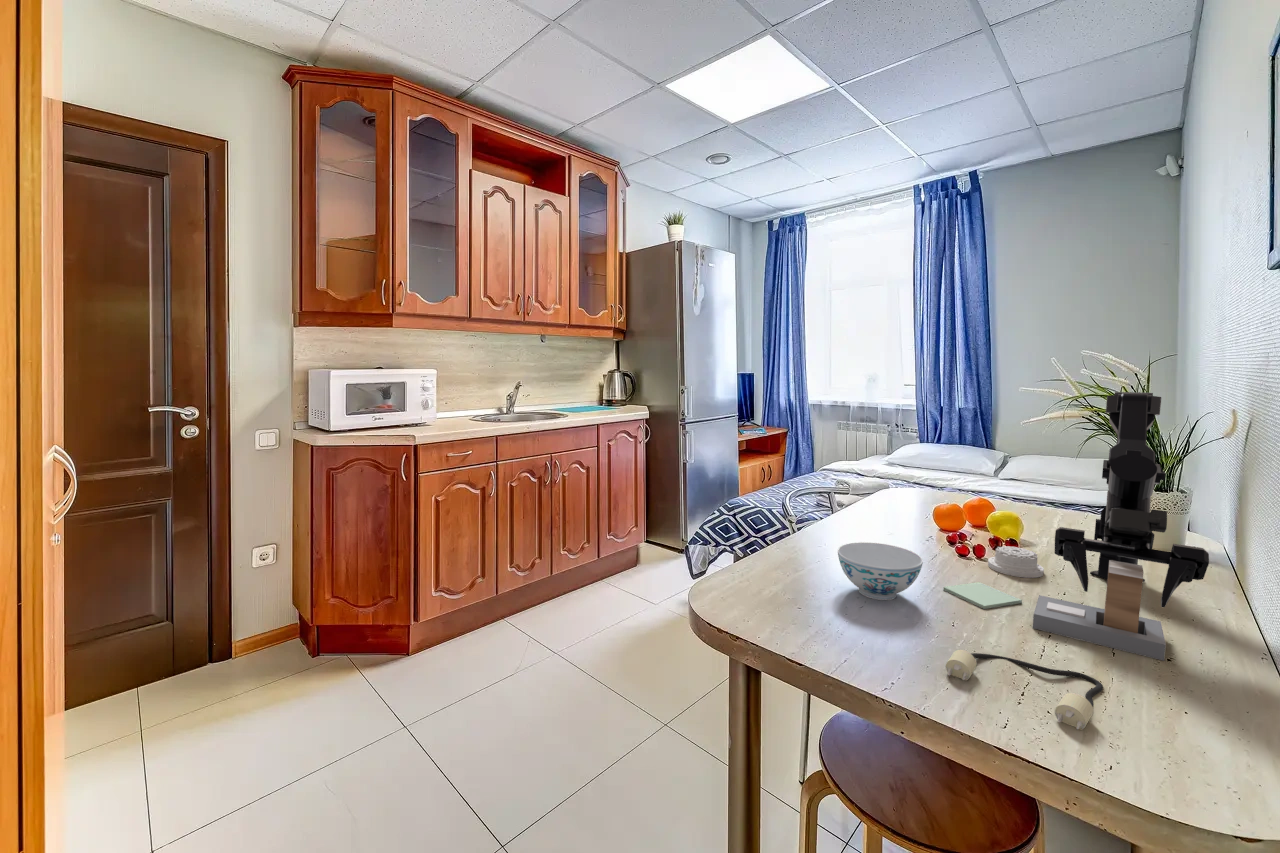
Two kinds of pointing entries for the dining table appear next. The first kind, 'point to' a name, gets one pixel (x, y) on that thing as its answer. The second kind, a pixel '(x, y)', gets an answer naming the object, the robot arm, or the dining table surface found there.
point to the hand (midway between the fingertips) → (1123, 598)
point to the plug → (1123, 596)
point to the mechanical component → (1016, 562)
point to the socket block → (1097, 627)
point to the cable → (1072, 705)
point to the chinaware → (879, 568)
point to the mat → (982, 595)
